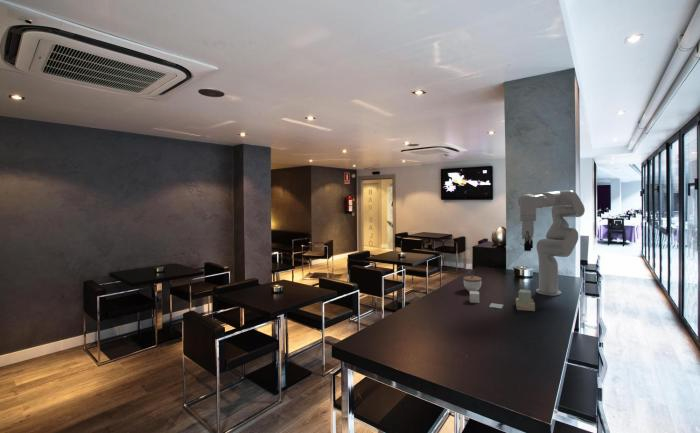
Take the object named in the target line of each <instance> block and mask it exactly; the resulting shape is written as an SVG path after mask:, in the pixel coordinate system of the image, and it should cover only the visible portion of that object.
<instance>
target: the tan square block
mask: <svg viewBox="0 0 700 433" xmlns="http://www.w3.org/2000/svg"><path fill="white" fill-rule="evenodd" d="M515 306H516V310H517V311H528V312H529V311H532V312H535V311H536V303H535V301H534V298H531V301H530V303H527V302H519V297H516V298H515Z"/></svg>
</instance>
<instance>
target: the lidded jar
mask: <svg viewBox="0 0 700 433" xmlns="http://www.w3.org/2000/svg"><path fill="white" fill-rule="evenodd" d="M462 279H463V285H464V288H465V289H466V290H467V291H468V292H470V291H478V292H479V290H480V289H481V287H482V277H481V276H477V275H476V276H475V275H469V276H468V275H466V276H463V278H462Z"/></svg>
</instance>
